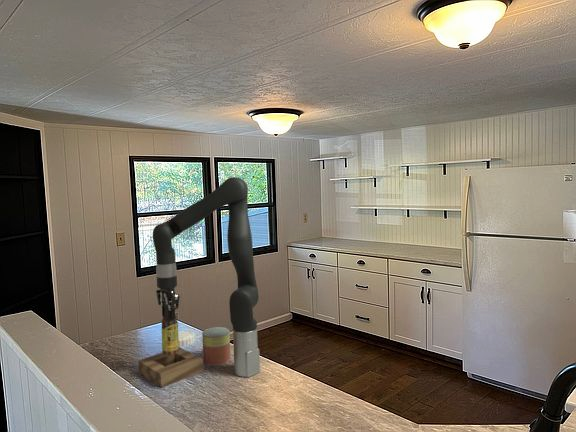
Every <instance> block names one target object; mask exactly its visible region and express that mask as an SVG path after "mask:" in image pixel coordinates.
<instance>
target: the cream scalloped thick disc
mask: <svg viewBox="0 0 576 432" xmlns="http://www.w3.org/2000/svg"><path fill="white" fill-rule="evenodd" d="M194 341H195V342H196V333H194V332H192V331H187V330H184V331H182V330H181V331H178V342H179V347H180V348H182V347H186V345H187V346H190V345H192V344H194V343H195V342H194ZM189 344H190V345H189Z"/></svg>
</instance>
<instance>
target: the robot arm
mask: <svg viewBox="0 0 576 432" xmlns="http://www.w3.org/2000/svg"><path fill="white" fill-rule="evenodd" d="M248 193H249V188H248V185H247V183H246V182H245V180H244V179H242V178H241V177H236V176H234V177H233V176H231V177H228V178H226V180H224V182H221V184H220V185H219V186H218V187H217V188H215V189H214V190H213V191H211V192H210V193H209V194H208V195H206V196H205V197H203V198H201V199H200V200H198V201H196V202H195V203H194V202H193V203H192V204H191V205H190V206H188V207H186V208H184V209H182V210H180V211H179V212H177V213H176V214H175V215H174V217H171V218H170V219H168V220H166V221H165V222H164V221H163V222H162V223H159V224H157V225H156V226H155V227H154V228H153V230H152V242H153V246H154V249H155V253H156V256H155V258H156V261H155V262H156V268H155V272H156V275H155V276H156V288H158V289H157V290H155V292H156V297H157V305H158V306H160V308H161V316H162V318H163V317H164V315H165V314H164V313H165V308H164V303H166V304H167V305H168V308H169V319H170V320H173V319H175V316H176V310H178V309H179V305H180V304H179V303H180V294H179V293H178V294H176V291H175V288H177V286H178V275H177V273H178V272H177V271H178V270H177V269H178V268H177V264H176V263H177V262H176V252H175V249H174V248H173V243H172V240H173V239H174V238H176V237H177V236H179V235H180V234H182V233H183V232H184V231H186V230H188V229H190V228H192V227H193V226H195V225H196V224H198V223H200V222H202V221H203V220H204V219H206V218H207V217H208V216H210V215H211V214H212V213H214V212H215V211H217V210H218V209H220V208H223V207H224V206H227V208H228V225H227V248H228V249H227V250H228V255H229V256H228V257H229V258H230V261H231V263H232V265H233V267H234V270H235V273H236V279H237V289H235V290H234V291H232V293H231V294H230V298H229V300H228V301H229V302H228V303H229V317H230V323H231V325H232V339H233V364H234V365H233V367H234V374H235V375H236V376H239V377H245V378H250V377H252V376H255V375H257V374H259V373H261V365H260V362H261V361H260V348H258V322H257V320H256V319H255V318H254V312H253V308H255V307H256V305H257V304H258V301H259V290H258V284H257V280H256V274H255V261H254V250H253V247H254V246H253V239H252V230H251V223H250V219H249V212H248V208H249V207H248V198H249V197H248V196H249V195H248Z"/></svg>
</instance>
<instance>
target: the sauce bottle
mask: <svg viewBox="0 0 576 432" xmlns="http://www.w3.org/2000/svg"><path fill="white" fill-rule="evenodd" d="M164 308H165V313H164V314H165V315H164V317H163V316H162V320H161V350H162V351H161V353H163V355H166V356H168V355H175V354H176V353H178V348H179V342H178V332H179V323H178V320H177V317H176V315H175V319H173V320H170V319H169V308H168V305H167V304H166V303H164Z"/></svg>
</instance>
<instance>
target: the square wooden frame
mask: <svg viewBox="0 0 576 432" xmlns="http://www.w3.org/2000/svg"><path fill="white" fill-rule="evenodd" d="M137 367H138V368H137V369H138V373H139V374H140V375H141V376H143V377H144V378H146V379H147V380H149V381H150V382H152V383H153V384H155V385H157V386H158V387H160V388H165V387H167V386H169V385H173V384H174V383H177V382H179V381H182V380H185V379H186V378H187V379H188V378H190V377H192V376H195V375H197V374H199V373H200V374H201V373H202V372H204V362H203V357H200V356H199V355H196V354H194V353H192V352H190V351H188V350H186V349H184V348H182V347H179V348H178V353H176V354H175V355H168V356H166V355H163V353H162V352H159V353H157V354H153V355H149V356H148V357H144V358H141V359H139V360H137Z"/></svg>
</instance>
